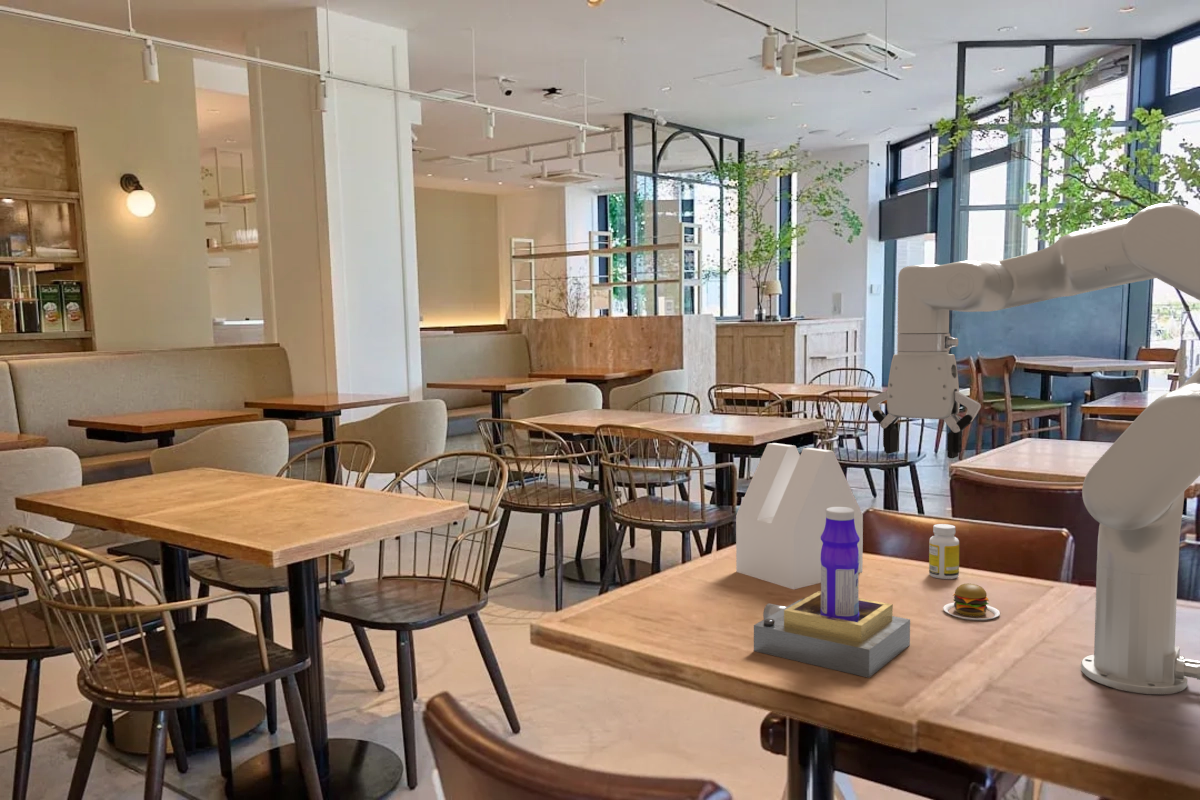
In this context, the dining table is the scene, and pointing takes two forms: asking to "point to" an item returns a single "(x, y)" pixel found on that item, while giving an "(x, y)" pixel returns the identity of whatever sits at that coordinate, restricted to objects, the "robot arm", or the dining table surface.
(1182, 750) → the dining table surface
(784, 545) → the white notched block
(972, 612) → the hamburger
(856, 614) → the bottle
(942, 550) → the supplement bottle
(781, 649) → the grey brass fixture
